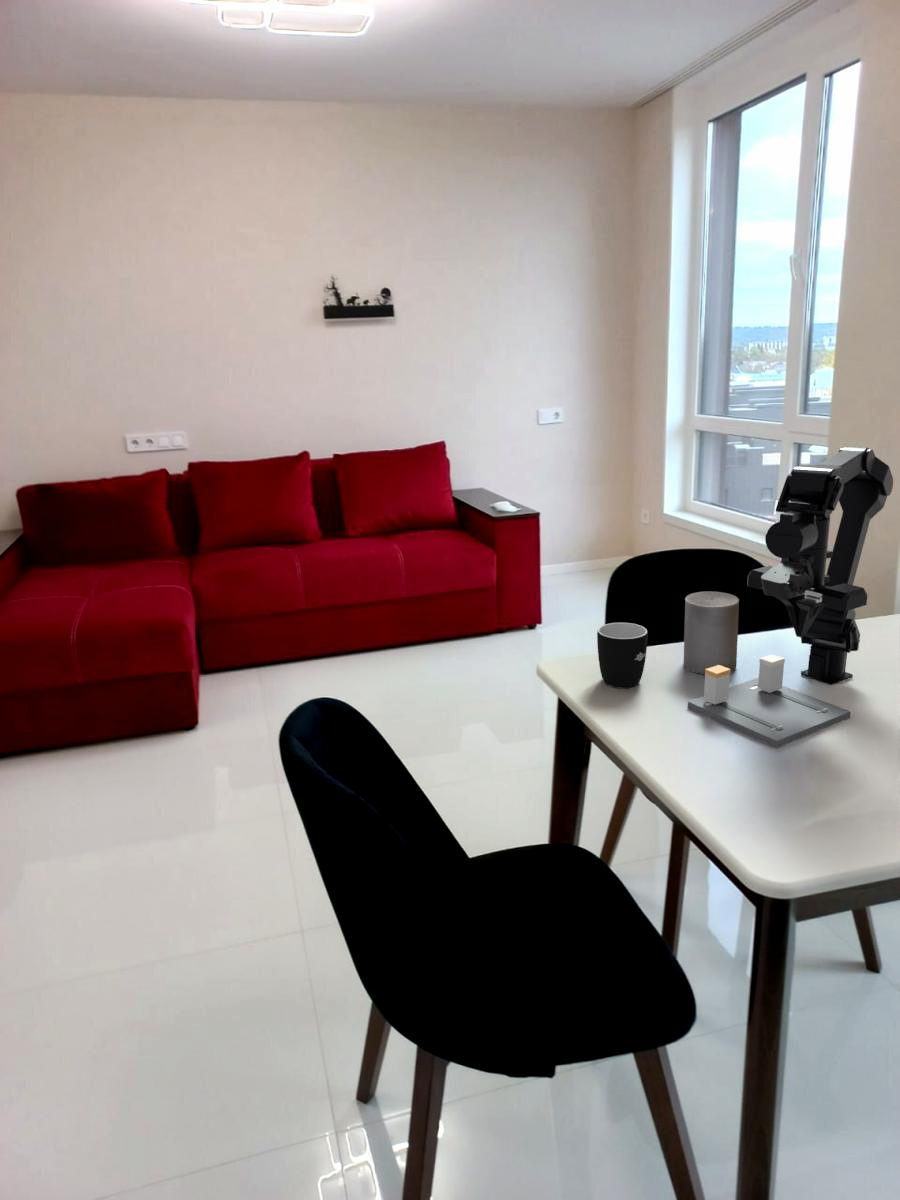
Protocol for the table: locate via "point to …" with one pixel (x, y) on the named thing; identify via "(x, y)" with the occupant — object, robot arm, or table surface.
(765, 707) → the console
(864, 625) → the table surface
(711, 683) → the fader
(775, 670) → the fader
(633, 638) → the mug
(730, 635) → the pillar candle
